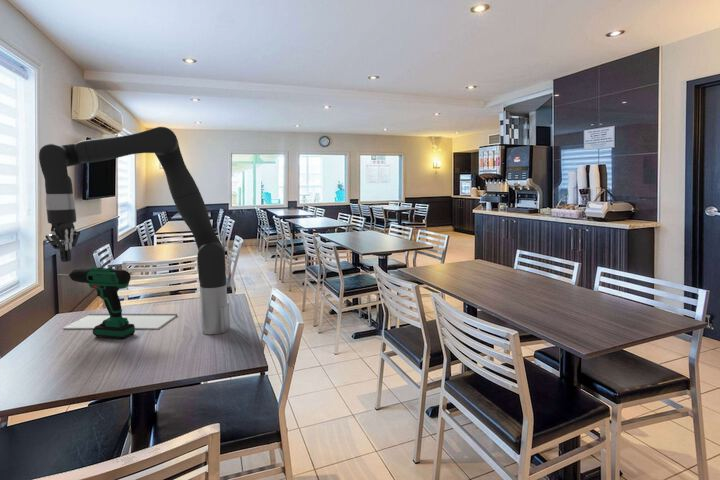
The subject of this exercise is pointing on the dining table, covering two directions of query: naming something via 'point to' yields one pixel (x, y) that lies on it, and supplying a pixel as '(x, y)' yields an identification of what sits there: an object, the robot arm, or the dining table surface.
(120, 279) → the power drill
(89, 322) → the mat
